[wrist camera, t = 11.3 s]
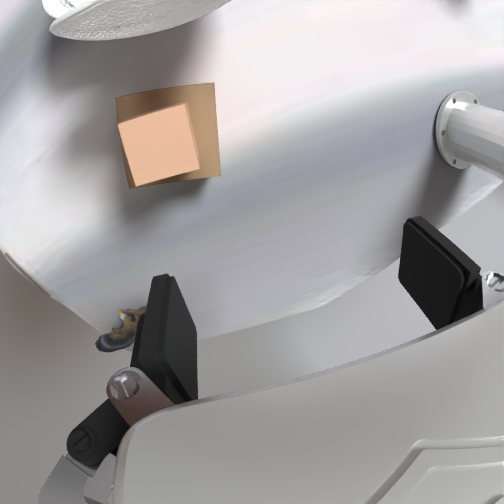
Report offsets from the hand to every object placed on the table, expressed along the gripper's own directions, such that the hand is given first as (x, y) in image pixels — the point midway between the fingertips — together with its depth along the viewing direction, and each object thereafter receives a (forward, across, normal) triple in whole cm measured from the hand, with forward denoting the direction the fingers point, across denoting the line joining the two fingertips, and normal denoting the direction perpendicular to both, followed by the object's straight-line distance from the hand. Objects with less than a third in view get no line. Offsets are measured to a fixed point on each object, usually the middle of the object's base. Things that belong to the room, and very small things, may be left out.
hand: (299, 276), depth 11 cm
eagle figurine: (+24, +21, +20) cm, 38 cm away
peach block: (+19, +6, -4) cm, 20 cm away
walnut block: (+25, +6, -4) cm, 26 cm away
